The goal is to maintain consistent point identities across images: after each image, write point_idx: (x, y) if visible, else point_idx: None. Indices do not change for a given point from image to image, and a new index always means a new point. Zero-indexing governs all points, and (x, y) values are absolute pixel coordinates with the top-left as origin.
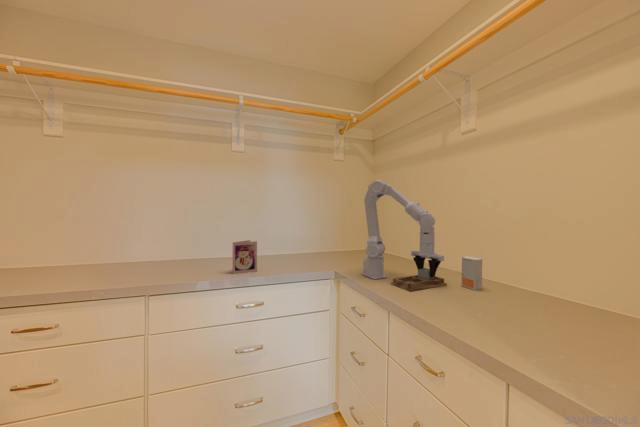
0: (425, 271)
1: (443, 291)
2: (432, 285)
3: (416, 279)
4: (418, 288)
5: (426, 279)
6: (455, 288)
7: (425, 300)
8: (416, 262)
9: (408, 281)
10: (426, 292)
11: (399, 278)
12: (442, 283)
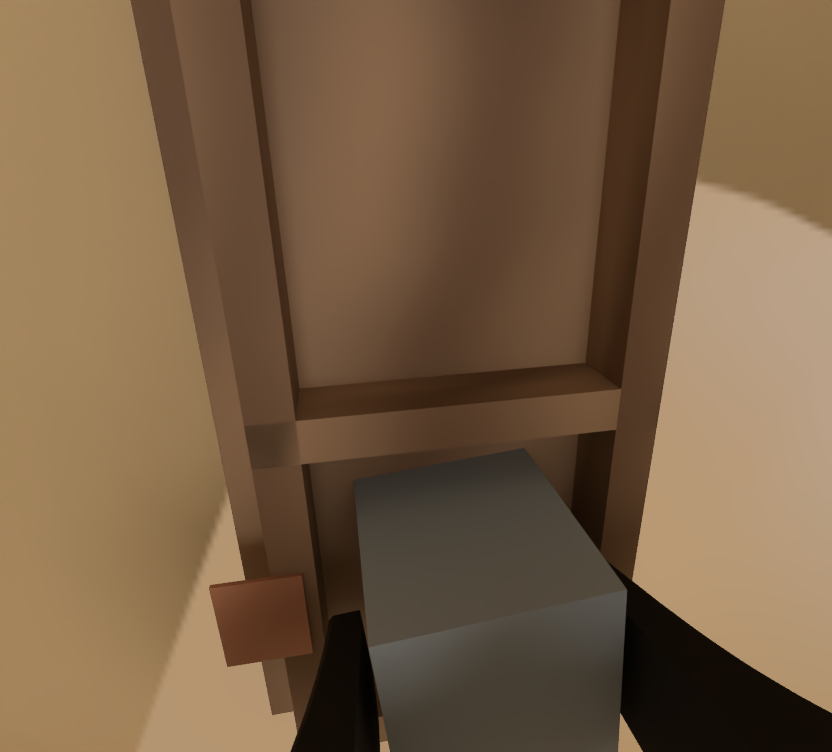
0: (416, 627)
1: (22, 487)
2: (241, 490)
3: (490, 392)
4: (157, 129)
5: (370, 517)
6: (123, 699)
7: None
8: (820, 747)
9: (581, 288)
10: (18, 185)
11: (671, 43)
12: (283, 666)
